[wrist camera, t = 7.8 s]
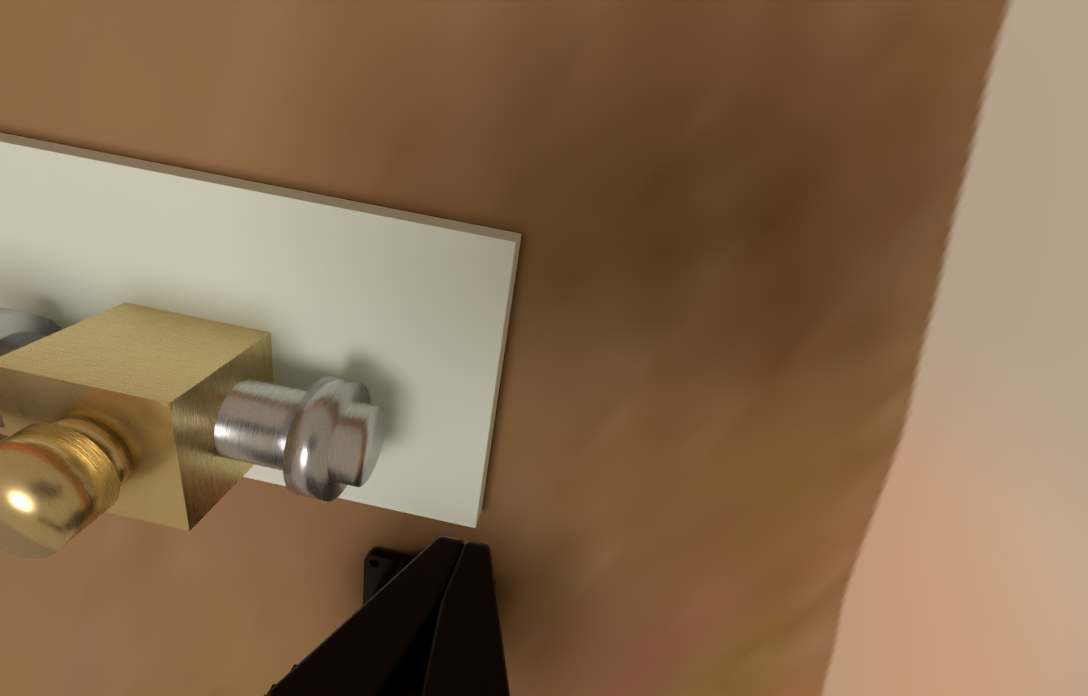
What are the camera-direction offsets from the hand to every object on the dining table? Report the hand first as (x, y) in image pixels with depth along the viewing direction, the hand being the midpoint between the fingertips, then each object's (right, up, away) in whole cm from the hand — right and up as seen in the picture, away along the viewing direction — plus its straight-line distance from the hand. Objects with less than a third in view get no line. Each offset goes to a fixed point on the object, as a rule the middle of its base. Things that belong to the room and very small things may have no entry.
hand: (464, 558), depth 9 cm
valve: (-13, +2, +14) cm, 19 cm away
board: (-12, +4, +14) cm, 19 cm away
